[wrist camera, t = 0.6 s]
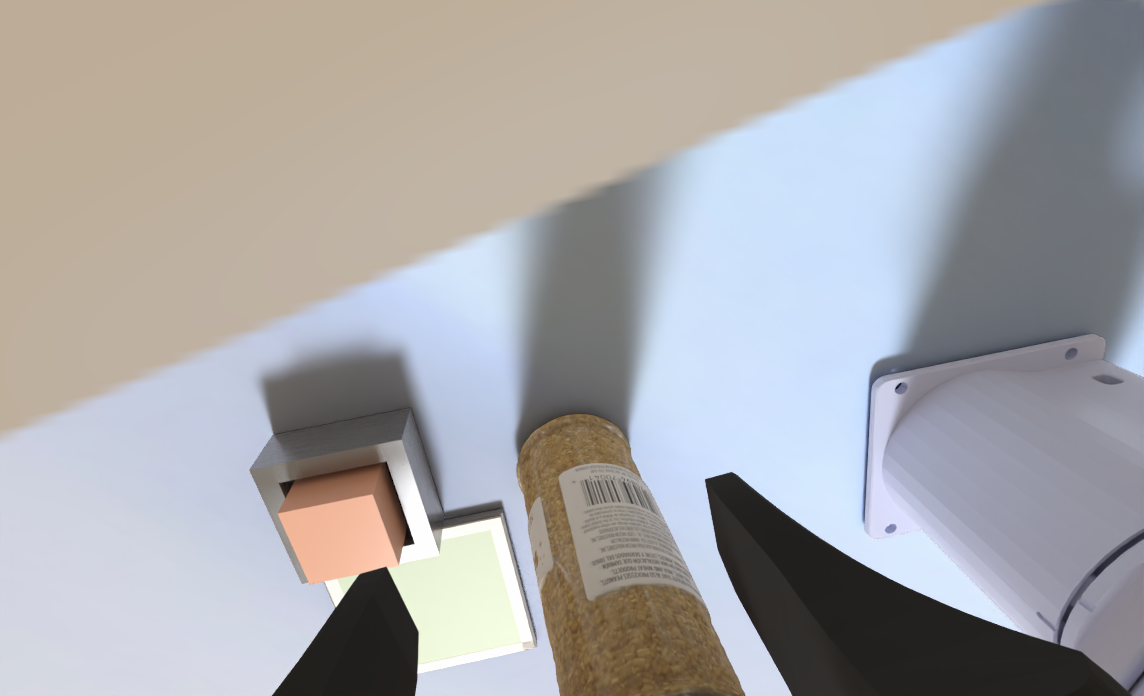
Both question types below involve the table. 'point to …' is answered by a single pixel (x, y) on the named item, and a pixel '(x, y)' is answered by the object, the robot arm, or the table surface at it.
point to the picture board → (463, 594)
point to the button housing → (350, 449)
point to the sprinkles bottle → (613, 571)
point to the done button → (344, 522)
